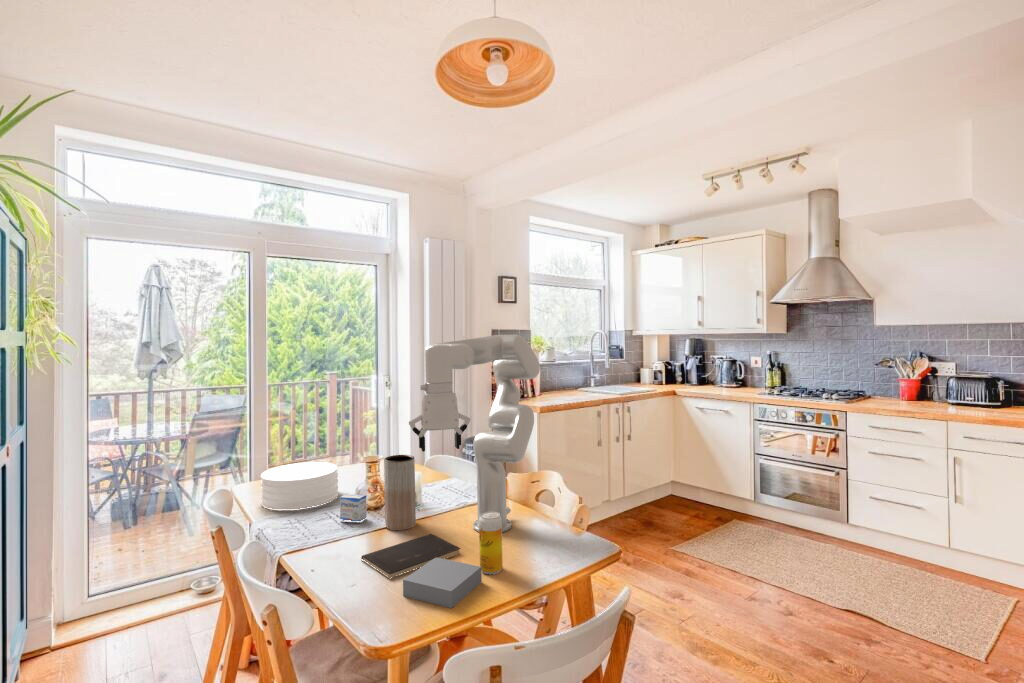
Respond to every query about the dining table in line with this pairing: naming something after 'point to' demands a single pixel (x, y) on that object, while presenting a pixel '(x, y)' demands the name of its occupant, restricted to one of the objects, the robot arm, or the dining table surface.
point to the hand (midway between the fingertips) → (440, 449)
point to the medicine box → (353, 507)
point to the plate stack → (299, 485)
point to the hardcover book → (410, 554)
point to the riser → (442, 582)
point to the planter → (399, 492)
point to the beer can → (490, 542)
